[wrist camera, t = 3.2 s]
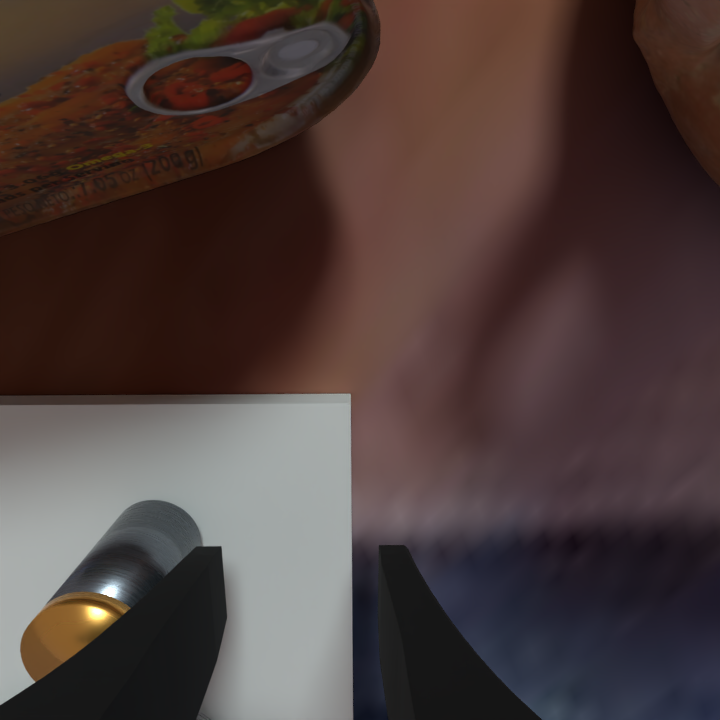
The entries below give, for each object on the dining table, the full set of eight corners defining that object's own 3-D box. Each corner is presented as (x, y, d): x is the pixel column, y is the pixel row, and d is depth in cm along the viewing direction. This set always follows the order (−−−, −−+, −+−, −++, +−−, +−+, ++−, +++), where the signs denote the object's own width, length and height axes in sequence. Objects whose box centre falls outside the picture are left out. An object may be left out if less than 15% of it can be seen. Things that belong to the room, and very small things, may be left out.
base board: (354, 877, 19) (354, 908, 18) (-121, 884, 18) (-145, 917, 18) (350, 393, 14) (350, 404, 13) (-297, 397, 13) (-342, 408, 13)
